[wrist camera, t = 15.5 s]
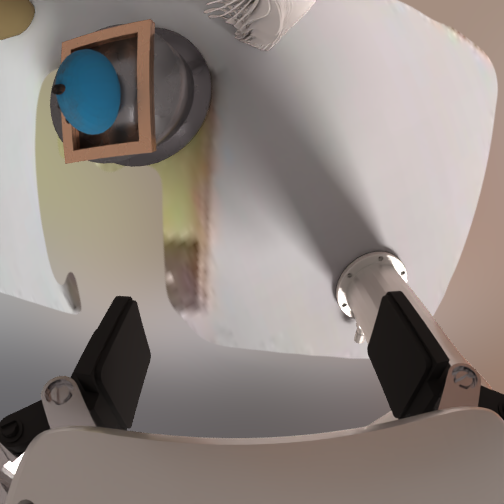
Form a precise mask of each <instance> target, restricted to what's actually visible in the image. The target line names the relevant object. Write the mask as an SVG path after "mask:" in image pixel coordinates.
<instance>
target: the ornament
mask: <svg viewBox="0 0 504 504" xmlns="http://www.w3.org/2000/svg"><path fill="white" fill-rule="evenodd" d="M52 93H53V94H56V97H57V101H58V108H59V109H61V112H62V113H63V115H64V117H65V120H66V122H67V123H68V124H69V123H70V124H71V125H72V126H73V127H74V128H76V129H77V130H78V131H79V132H80V133H81V132H83V133H86V134H91V135H94V134H100V133H103V132H105V131H106V130H107V129H109V128H110V127H111V126H112V125H113V123H114V121H115V120H116V118H117V116H118V111H119V107H120V98H121V92H120V83H119V79H118V76H117V73H116V71H115V69H114V67H113V65H112V63H111V62H110V61H109V60H108V59H107V58H106V57H105V56H104V55H103V54H101V53H100V52H97V51H94V50H90V49H83V50H78V51H75V52H73V53H72V54H70V55H69V56H67V57H66V58H65V59H64V61H63V62H62V63H61V65H60V67H59V69H58V72H57V76H56V82H55V84H54V86H53V88H52Z"/></svg>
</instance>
